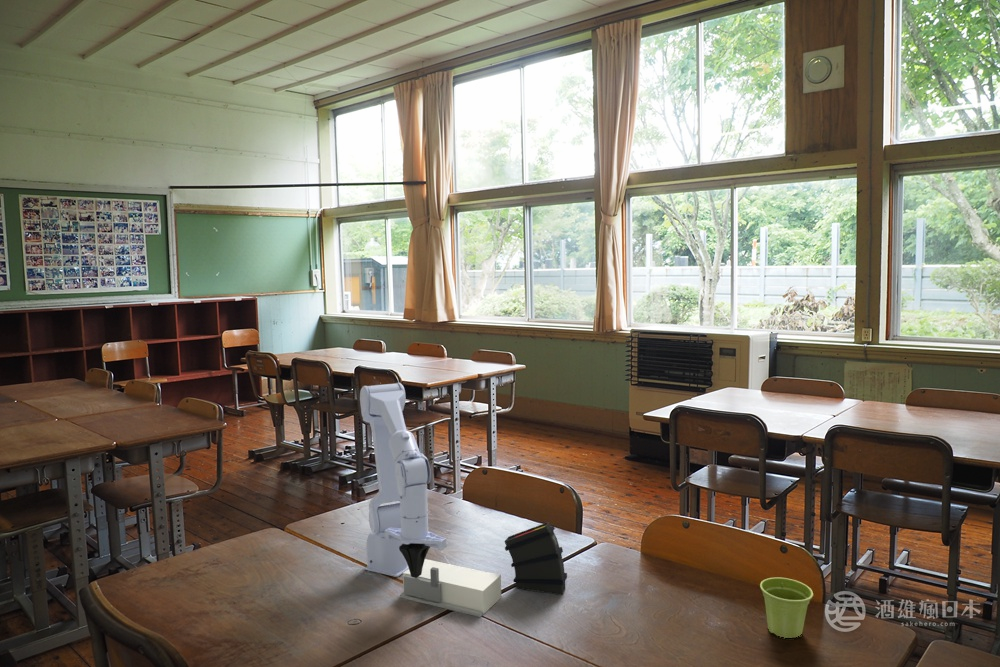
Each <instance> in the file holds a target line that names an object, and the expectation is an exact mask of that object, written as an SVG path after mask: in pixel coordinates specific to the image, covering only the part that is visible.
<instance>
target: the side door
mask: <svg viewBox="0 0 1000 667" xmlns="http://www.w3.org/2000/svg"><path fill="white" fill-rule="evenodd" d="M430 574H431V580H427V579H422V578H418V577H417V578H414V577H411V576H409V575H405V576H404V594H407V595H411V596H415V597H419V598H423V599H427V600H431V601H435V602H440V601H441V583H440V582H439V568H434V567H432V568H431V569H430Z"/></svg>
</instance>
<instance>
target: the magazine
mask: <svg viewBox="0 0 1000 667" xmlns="http://www.w3.org/2000/svg"><path fill="white" fill-rule="evenodd" d="M555 529H556V528H555V525H551V523H550V521H547V522H545V523H542V524H538V525H537V526H533V527H532V528H528V529H526V530H522V531H521V532H518V533H515V534H512V535H510V536H508V537H507V538H506V539H505V540H504V544H505V546H504V550H505V551H506V552H507V551H508V552H509V554H510V557H511V560H512V563H511V564H510V566H511V568H513V569H514V575H515V577H514V578H513V583H515V588H516V589H521V590H527V591H532V592H533V591H534V592H539V593H547V594H551V595H552V594H553V595H561V596H563V594H564V592H565V591H566V580H567V579H568V572H566V571H565V565H564V560H563V555H562V553H563V552H564V550H563V547H562V546H560V545H559V541H558V538H557V536H556V533H555V532H554V531H555Z"/></svg>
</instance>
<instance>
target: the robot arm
mask: <svg viewBox="0 0 1000 667" xmlns="http://www.w3.org/2000/svg"><path fill="white" fill-rule="evenodd" d="M406 397H407V396H406V390H405V387H404V385H403V384H402V383H401V382H395V383H387V384H375V385H363V386H362V387H361V388H360V393H359V402H360V411H361V417H362V421H363V422H366V423H368V424H369V425H370V428H371V434H372V441H373V442H372V443H373V450H374V460H375V468H376V469H375V470H376V475H377V476H376V477H377V485H378V486H377V487H378V492H377V493H376V494H375V495H374V496H373V497H372V498H371V499H370V500H369V502H368V523H369V528H370V532H369V533H368V536H367V539H366V565H367V566H366V567H365V571H369V572H373V573H378V574H382V575H386V576H391V577H394V578H398V577H400V576H401V575H403V572H405V571H406V570H408V569H409V571H410V574H411V577H414V578H417V577H419V576H420V575H421V574H422V568H423V564H424V560H425V559H426V557H427V554H428V553H429V550H430V548H431V547H432V548H437V550H440V551H442V550H444V549H445V548H447V537H442V536H441V535H438V534H436V533H433V532H431V531H429V515H428V513H429V511H428V509H429V506H428V485H427V484H430V482H431V477H432V470H431V466H430V465H431V464H430V462H429V459H428V458H427V456H426V455H424V453H421V452H420V449H419V446H418V443H417V441H416V438H415V436H414V434H413V432H411V431H408V430H407V426H406V423H405V419H404V415H403V414H404V413H403V411H404V410H405V409H404V408H405V405H406V401H407V400H406ZM394 502H397V503H394ZM389 503H392V504H389ZM385 504H386V505H385Z"/></svg>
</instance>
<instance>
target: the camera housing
mask: <svg viewBox="0 0 1000 667" xmlns="http://www.w3.org/2000/svg"><path fill="white" fill-rule="evenodd" d="M432 567H434V568H439V582H440V583H441V601H440V602H435V601H431V600H427V599H423V598H419V597H415V596H411V595H407V594H404V576H405V575H409V576H411V574H410V571H409V569H408V570H406V571H405V572H403V574H402V582H403V583H402V585H403V586H402V588H403V592H402V593H400V594H399V598H400V599H401V598H402V599H405V600H410V601H413V602H417V603H420V604H421V603H422V604H425V605H429V606H434V607H438V608H442V609H446V610H449V611H454V612H457V613H463V614H466V615H470V616H473V617H474V616H475V617H477V618H478V617H479V618H481V617H483V615H485V613H486V612H488V610H489V609H491V608H492V607H493V606H494V605H495V604H496V603H497V602H498V601H499V600H500V599H501V598H502V576H501V574H498V573H494V572H493V573H492V572H488V571H484V570H479V569H473V568H469V567H465V566H461V565H460V566H459V565H455V564H449V563H445V562H441V561H437V560H433V559H427V558H425V560H424V564H423V568H422V574H421V575H420V576H419V577H418V578H422V579H427V580H431V574H430V569H431V568H432Z"/></svg>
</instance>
